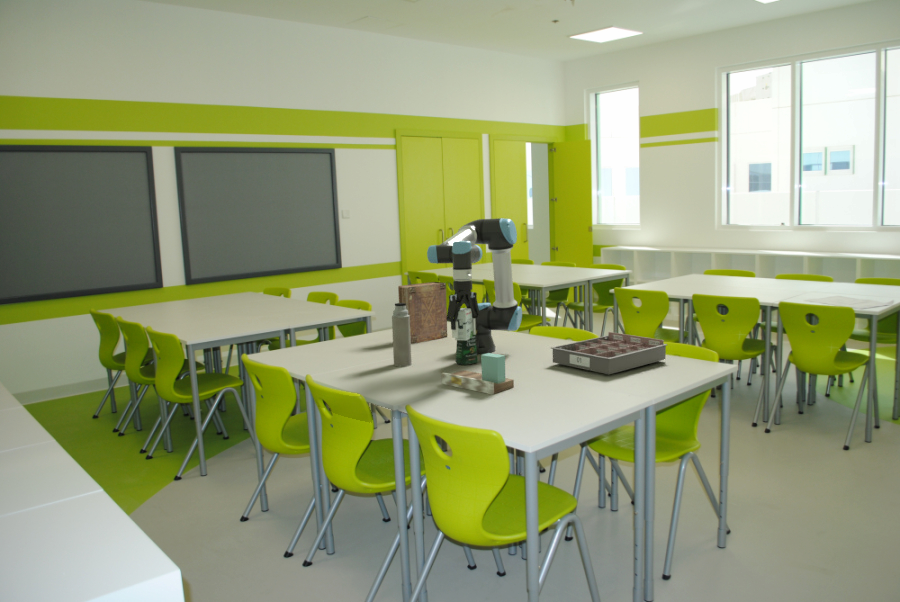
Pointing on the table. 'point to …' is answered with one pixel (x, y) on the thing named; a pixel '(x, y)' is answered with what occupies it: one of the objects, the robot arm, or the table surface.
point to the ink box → (464, 324)
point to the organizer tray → (610, 353)
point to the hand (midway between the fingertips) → (463, 335)
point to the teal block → (493, 367)
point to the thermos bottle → (401, 335)
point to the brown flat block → (475, 382)
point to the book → (425, 310)
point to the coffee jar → (467, 351)
